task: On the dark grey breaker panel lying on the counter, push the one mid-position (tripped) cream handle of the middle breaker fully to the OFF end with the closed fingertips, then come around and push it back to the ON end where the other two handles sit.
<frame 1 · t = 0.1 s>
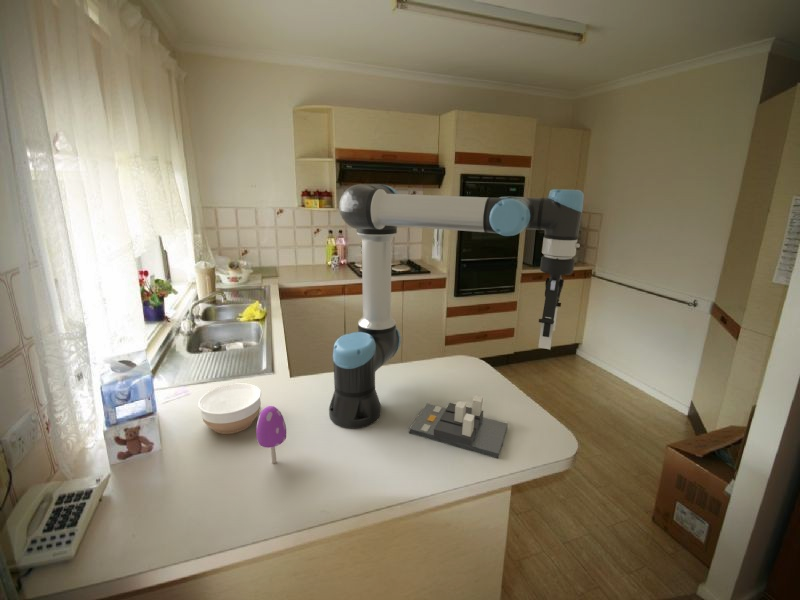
hand: (546, 338, 99), 28 cm above the countertop, fingers open, 13 cm apart
tripped handle: (460, 411, 106), point 6 cm above the countertop, slide at 0.0 cm
breaker housings: (460, 415, 106), on the panel, point 5 cm above the countertop
toy: (274, 462, 94), on the countertop
panel: (458, 430, 107), on the countertop
bowl: (233, 422, 109), on the countertop
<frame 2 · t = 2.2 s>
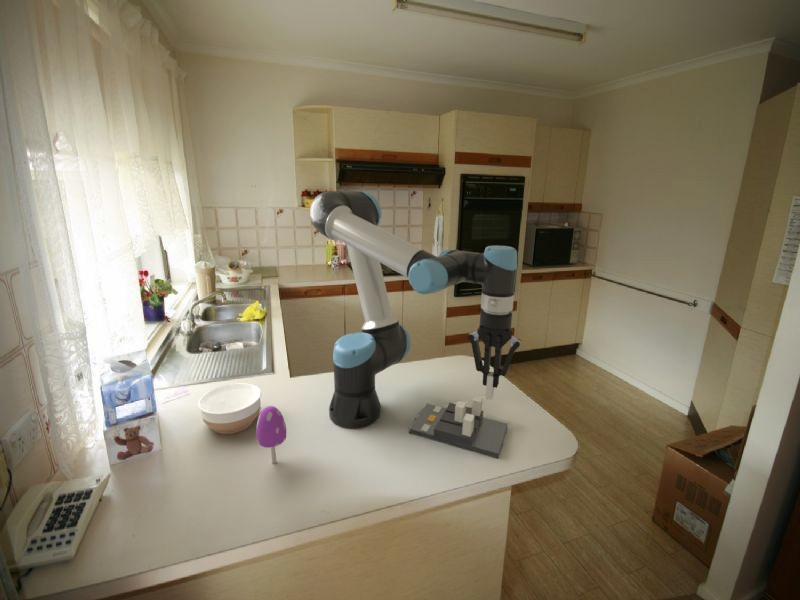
hand: (489, 396, 101), 12 cm above the countertop, fingers closed
nothing on the countertop moved.
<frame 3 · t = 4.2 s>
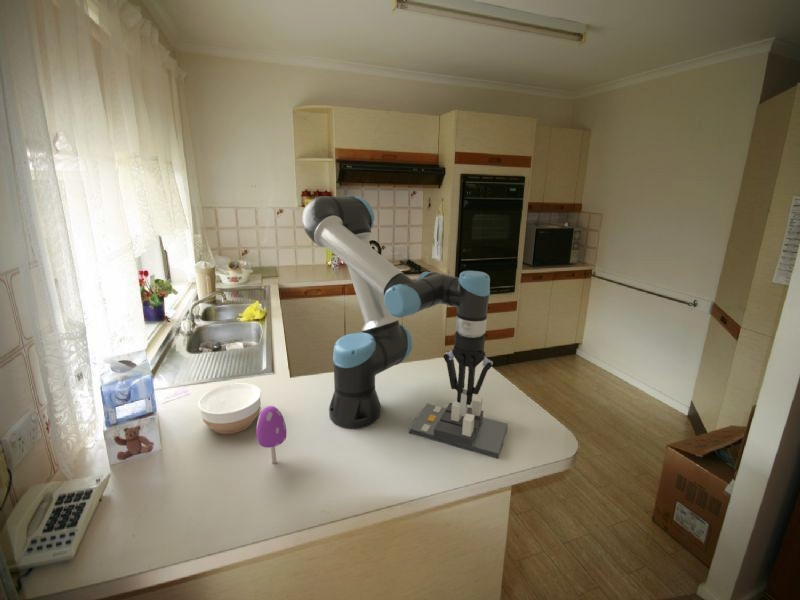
hand: (463, 413, 105), 6 cm above the countertop, fingers closed
tripped handle: (456, 410, 106), point 6 cm above the countertop, slide at -1.0 cm, touching gripper
everything else where it was.
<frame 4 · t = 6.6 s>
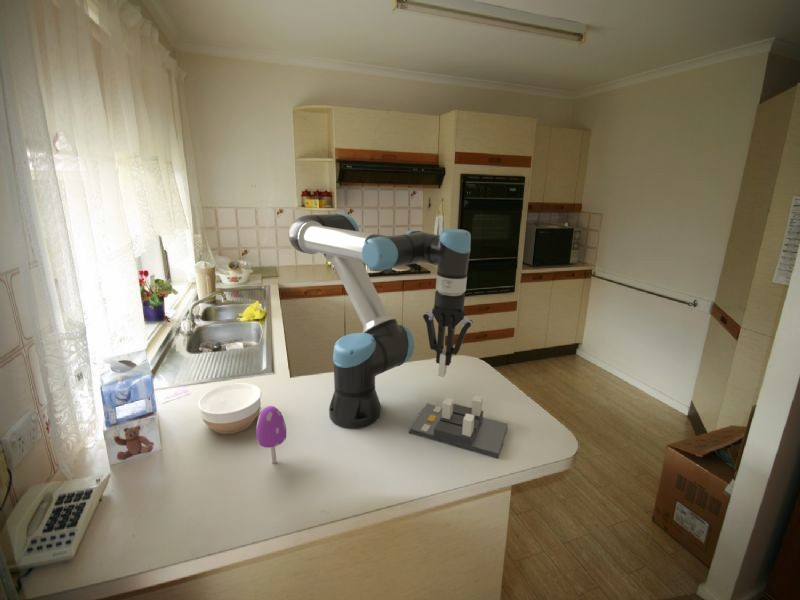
hand: (442, 374, 105), 16 cm above the countertop, fingers closed
tripped handle: (447, 408, 107), point 6 cm above the countertop, slide at -3.6 cm
everything else where it was.
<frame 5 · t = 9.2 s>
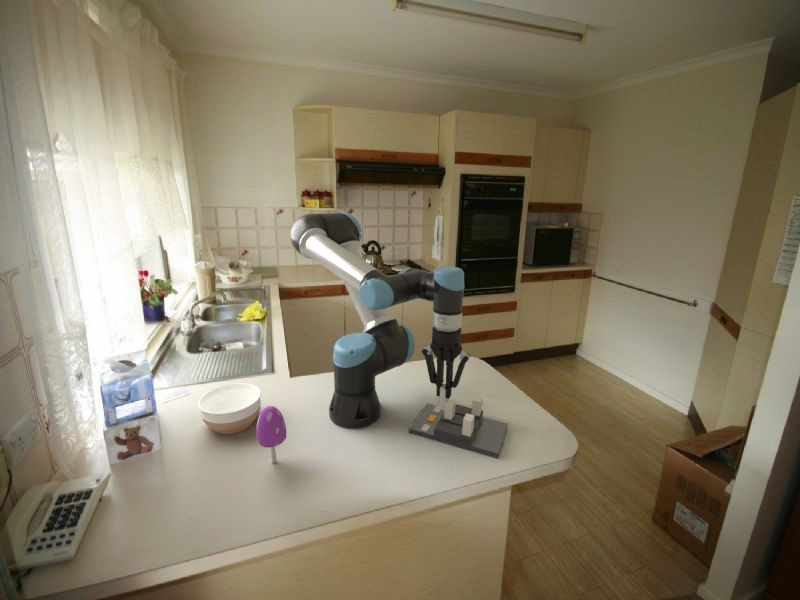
hand: (443, 407, 107), 6 cm above the countertop, fingers closed
tripped handle: (449, 409, 107), point 6 cm above the countertop, slide at -2.9 cm, touching gripper
everything else where it was.
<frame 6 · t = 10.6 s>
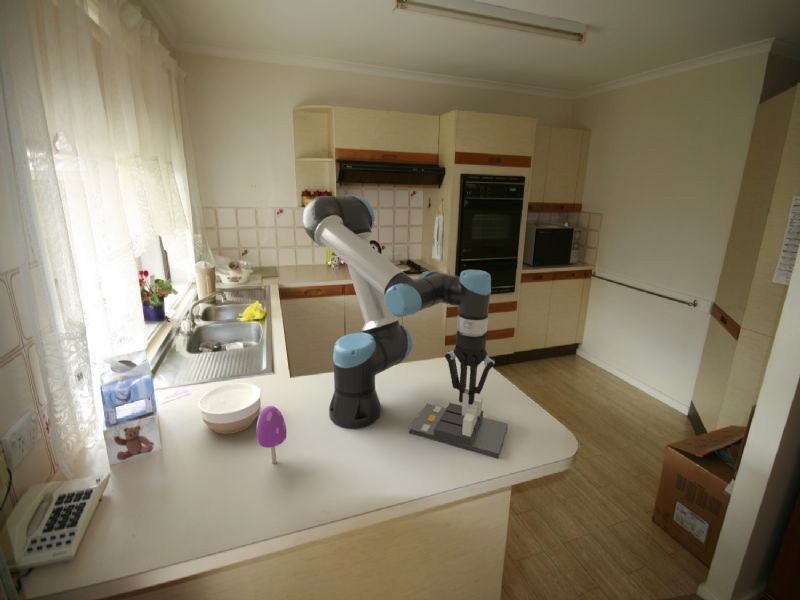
hand: (465, 413, 105), 6 cm above the countertop, fingers closed
tripped handle: (472, 414, 104), point 6 cm above the countertop, slide at 3.3 cm, touching gripper
everything else where it was.
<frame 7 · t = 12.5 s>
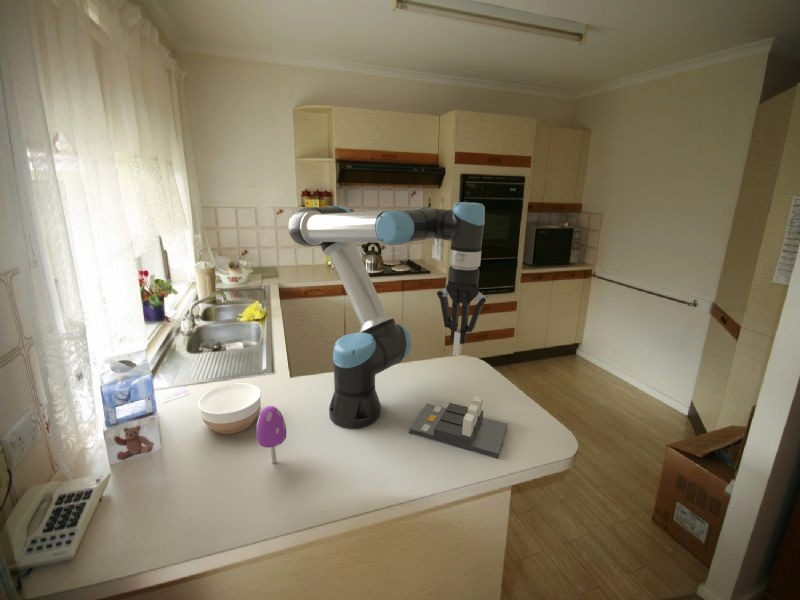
hand: (456, 353, 103), 22 cm above the countertop, fingers closed
tripped handle: (472, 414, 104), point 6 cm above the countertop, slide at 3.4 cm
everything else where it was.
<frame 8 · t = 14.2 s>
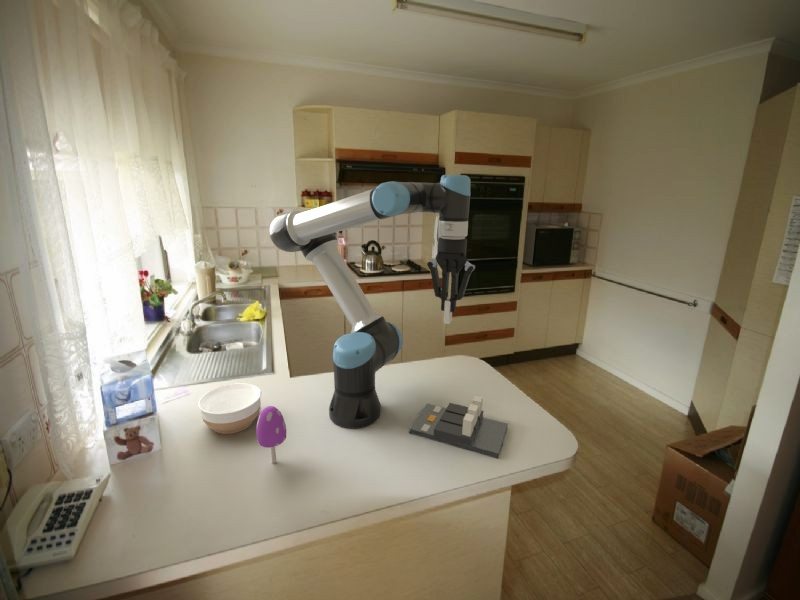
hand: (447, 322, 108), 28 cm above the countertop, fingers closed
nothing on the countertop moved.
at the end: tripped handle slide at 3.4 cm; tripped handle touching nothing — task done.
